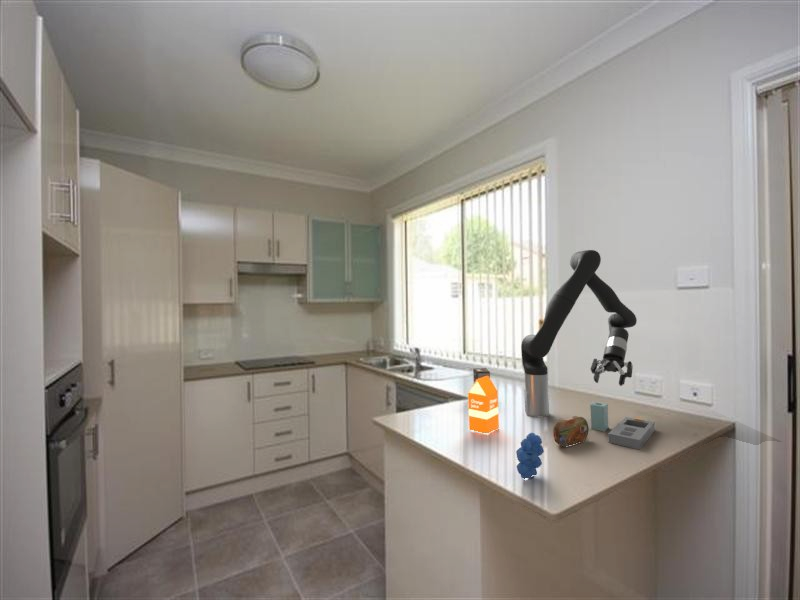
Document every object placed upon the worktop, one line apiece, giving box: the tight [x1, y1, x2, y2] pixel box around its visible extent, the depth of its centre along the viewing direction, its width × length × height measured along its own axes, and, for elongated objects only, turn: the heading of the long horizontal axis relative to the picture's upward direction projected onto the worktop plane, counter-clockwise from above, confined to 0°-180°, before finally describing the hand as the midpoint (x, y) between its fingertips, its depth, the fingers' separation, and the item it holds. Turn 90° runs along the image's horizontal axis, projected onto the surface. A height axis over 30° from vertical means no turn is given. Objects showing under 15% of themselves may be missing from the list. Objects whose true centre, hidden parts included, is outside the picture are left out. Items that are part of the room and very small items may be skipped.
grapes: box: [515, 432, 545, 479], centre depth 101 cm, size 12×7×12 cm, turn 131°
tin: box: [552, 415, 589, 448], centre depth 123 cm, size 15×3×8 cm, turn 117°
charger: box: [589, 401, 609, 432], centre depth 135 cm, size 4×4×9 cm
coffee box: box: [472, 367, 491, 384], centre depth 172 cm, size 9×6×16 cm
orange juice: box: [467, 376, 500, 433], centre depth 137 cm, size 8×9×20 cm
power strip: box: [607, 416, 656, 450], centre depth 127 cm, size 22×9×4 cm, turn 135°
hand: (608, 383), depth 143 cm, fingers open, 8 cm apart
